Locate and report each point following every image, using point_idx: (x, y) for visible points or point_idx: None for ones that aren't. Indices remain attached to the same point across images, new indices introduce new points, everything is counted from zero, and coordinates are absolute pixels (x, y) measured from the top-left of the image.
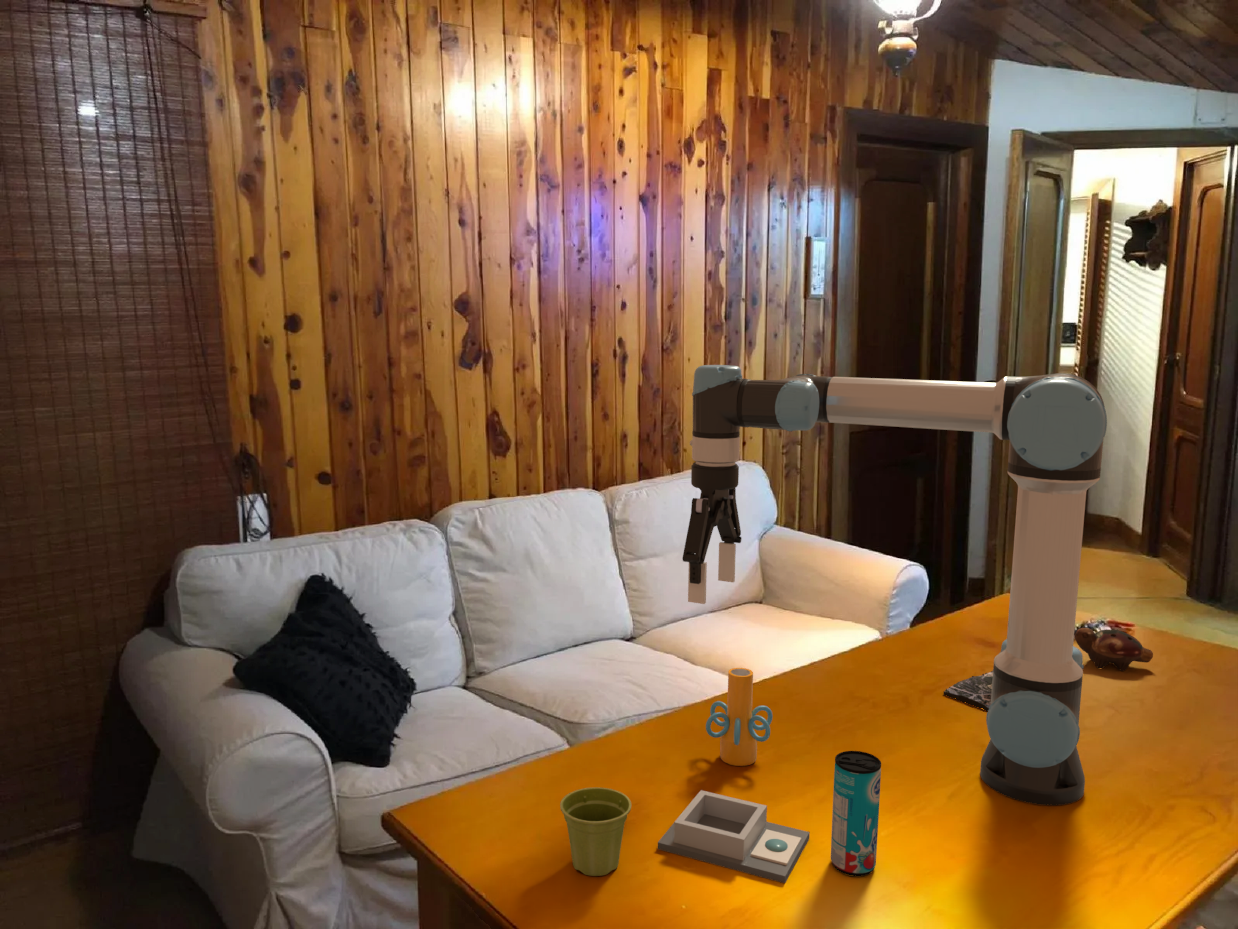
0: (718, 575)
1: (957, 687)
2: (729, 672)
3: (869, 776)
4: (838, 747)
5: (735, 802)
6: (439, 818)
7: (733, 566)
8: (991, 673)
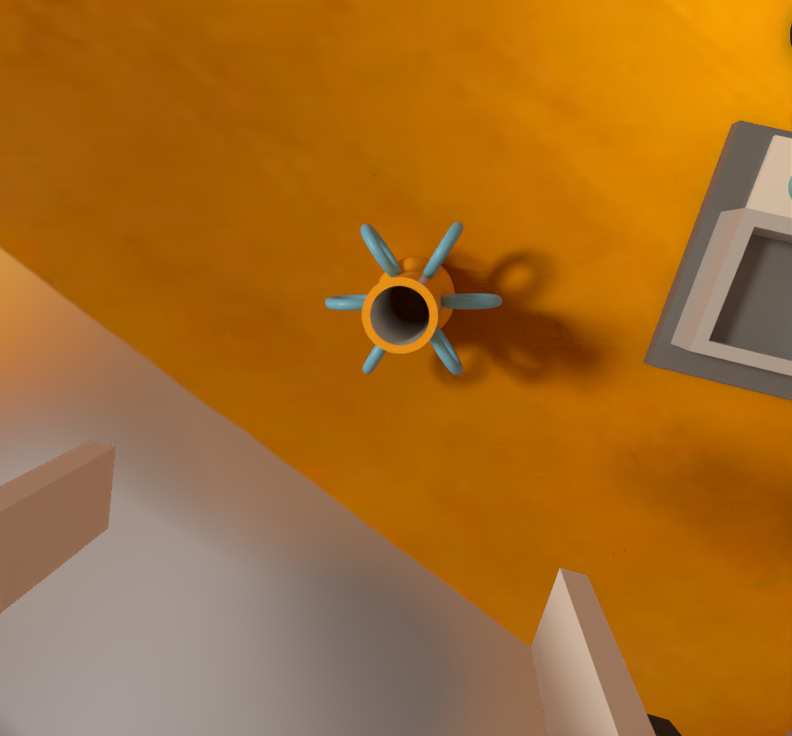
0: (86, 544)
1: None
2: (409, 349)
3: None
4: (313, 81)
5: (733, 275)
6: (721, 726)
7: (32, 494)
8: None
